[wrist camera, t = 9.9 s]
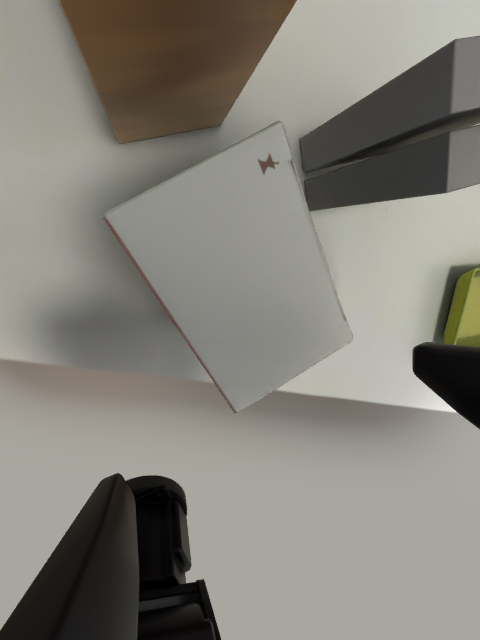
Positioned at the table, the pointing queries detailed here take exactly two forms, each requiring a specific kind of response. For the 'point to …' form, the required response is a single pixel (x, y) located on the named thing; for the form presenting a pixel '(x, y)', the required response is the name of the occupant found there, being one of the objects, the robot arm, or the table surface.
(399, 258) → the table surface
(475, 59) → the grey grooved block
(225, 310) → the small box
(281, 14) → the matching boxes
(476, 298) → the green square tray
